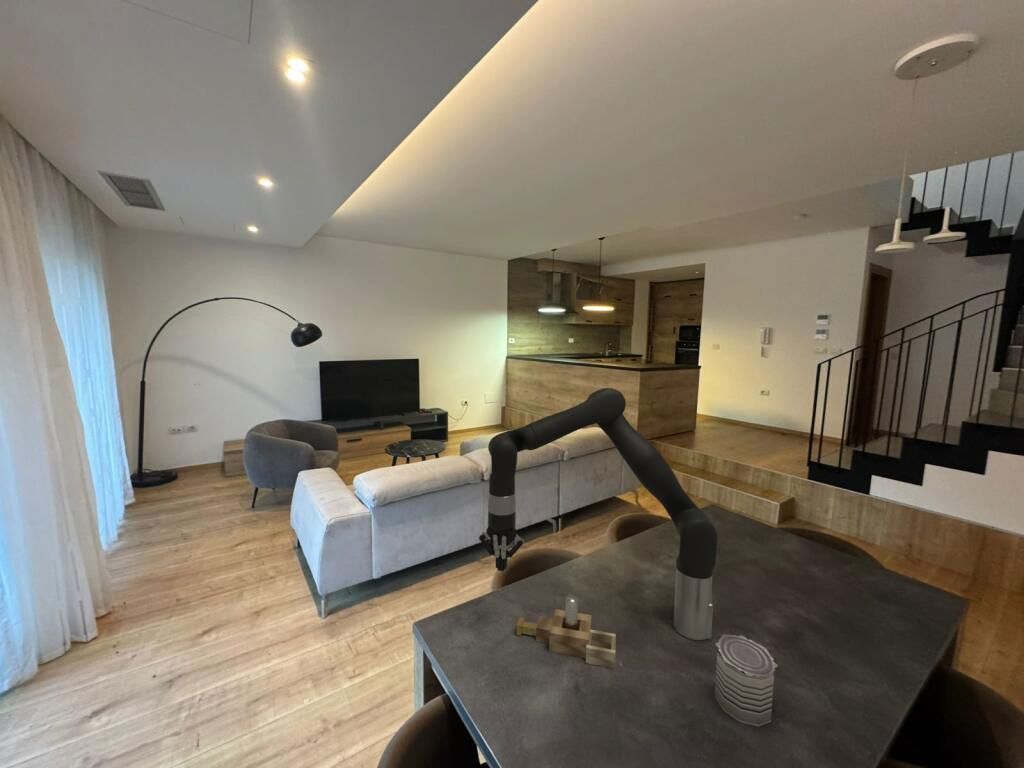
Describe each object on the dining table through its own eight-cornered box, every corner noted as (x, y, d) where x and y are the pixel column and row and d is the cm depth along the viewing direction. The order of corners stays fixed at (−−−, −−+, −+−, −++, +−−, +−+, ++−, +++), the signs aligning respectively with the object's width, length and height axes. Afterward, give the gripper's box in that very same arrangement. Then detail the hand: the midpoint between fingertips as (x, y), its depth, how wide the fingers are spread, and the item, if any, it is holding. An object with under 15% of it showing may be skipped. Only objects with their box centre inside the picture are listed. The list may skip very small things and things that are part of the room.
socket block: (591, 632, 112) (591, 615, 112) (588, 658, 102) (588, 640, 102) (541, 623, 116) (541, 606, 115) (533, 647, 106) (534, 629, 106)
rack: (615, 648, 106) (615, 634, 106) (614, 668, 99) (615, 653, 99) (588, 643, 108) (588, 629, 108) (585, 662, 101) (586, 647, 101)
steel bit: (577, 638, 110) (578, 596, 109) (576, 646, 107) (577, 603, 106) (565, 636, 110) (566, 594, 110) (564, 644, 107) (564, 601, 106)
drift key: (548, 631, 112) (548, 622, 112) (546, 640, 108) (546, 630, 108) (519, 626, 114) (519, 616, 114) (516, 634, 110) (516, 625, 110)
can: (752, 682, 96) (754, 633, 95) (786, 726, 84) (789, 672, 83) (704, 683, 95) (706, 634, 94) (732, 727, 84) (735, 673, 83)
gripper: (528, 506, 113) (527, 566, 114) (483, 501, 116) (483, 559, 117) (522, 516, 105) (521, 580, 107) (474, 511, 109) (474, 573, 110)
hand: (501, 569), depth 112 cm, fingers closed
